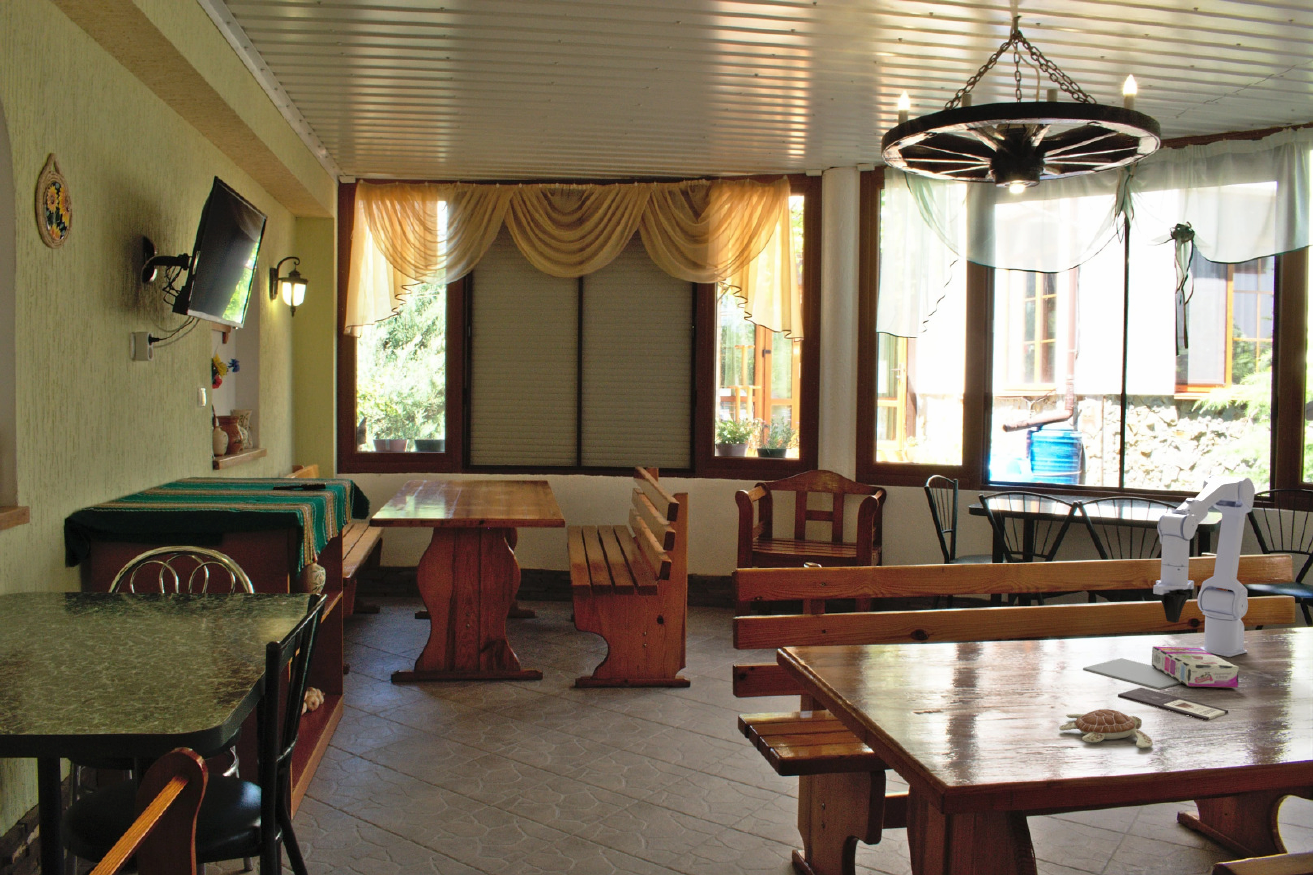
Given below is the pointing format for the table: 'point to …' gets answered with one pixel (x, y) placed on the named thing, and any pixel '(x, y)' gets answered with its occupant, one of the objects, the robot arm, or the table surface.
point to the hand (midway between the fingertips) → (1172, 621)
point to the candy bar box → (1195, 667)
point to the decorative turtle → (1108, 726)
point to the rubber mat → (1134, 673)
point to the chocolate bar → (1173, 703)
